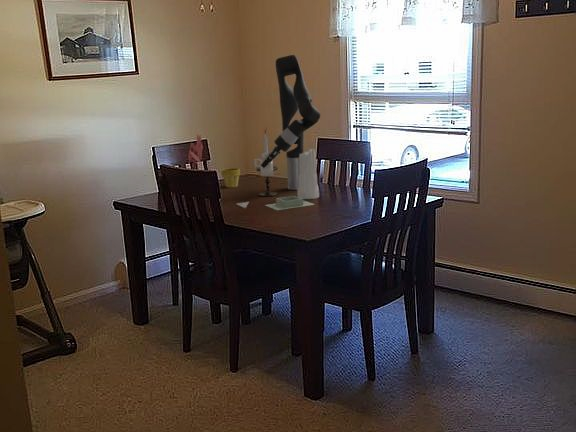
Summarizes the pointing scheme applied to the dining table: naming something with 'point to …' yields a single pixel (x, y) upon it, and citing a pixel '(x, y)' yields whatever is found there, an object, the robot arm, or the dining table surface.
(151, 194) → the dining table surface
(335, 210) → the dining table surface
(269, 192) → the candlestick
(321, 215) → the dining table surface
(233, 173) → the plant pot
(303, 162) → the decorative vase
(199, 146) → the figurine
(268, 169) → the cream jug
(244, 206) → the grey mat
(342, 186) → the dining table surface
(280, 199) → the tray
